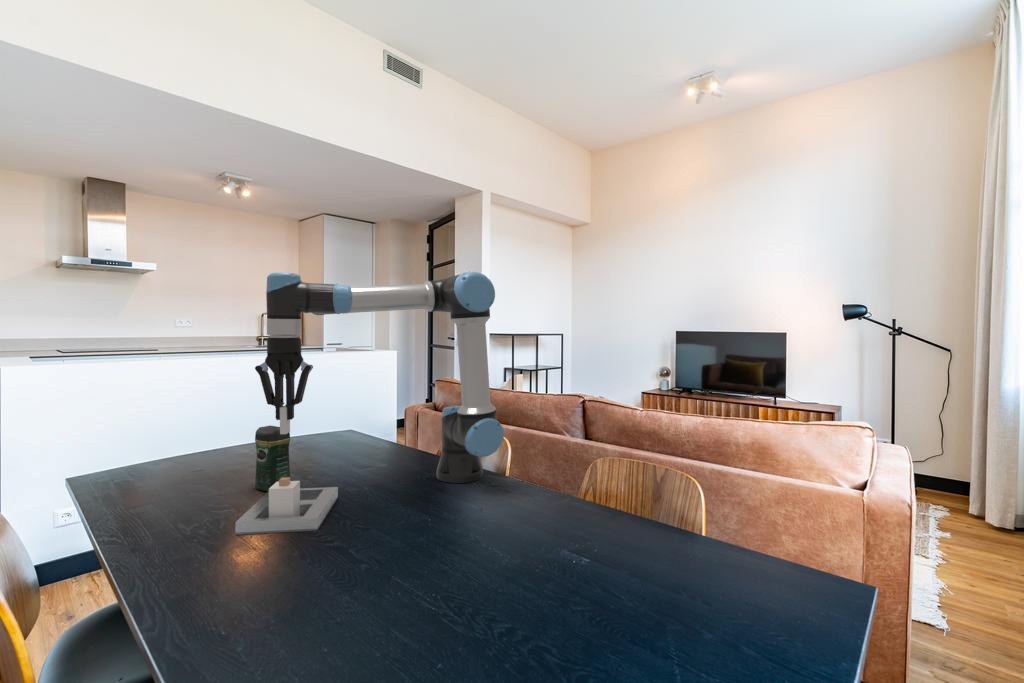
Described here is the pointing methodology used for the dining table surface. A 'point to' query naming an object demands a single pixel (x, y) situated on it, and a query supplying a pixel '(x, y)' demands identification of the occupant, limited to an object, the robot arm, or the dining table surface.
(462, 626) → the dining table surface
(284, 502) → the white rectangular block
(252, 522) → the socket plate
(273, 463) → the coffee jar
